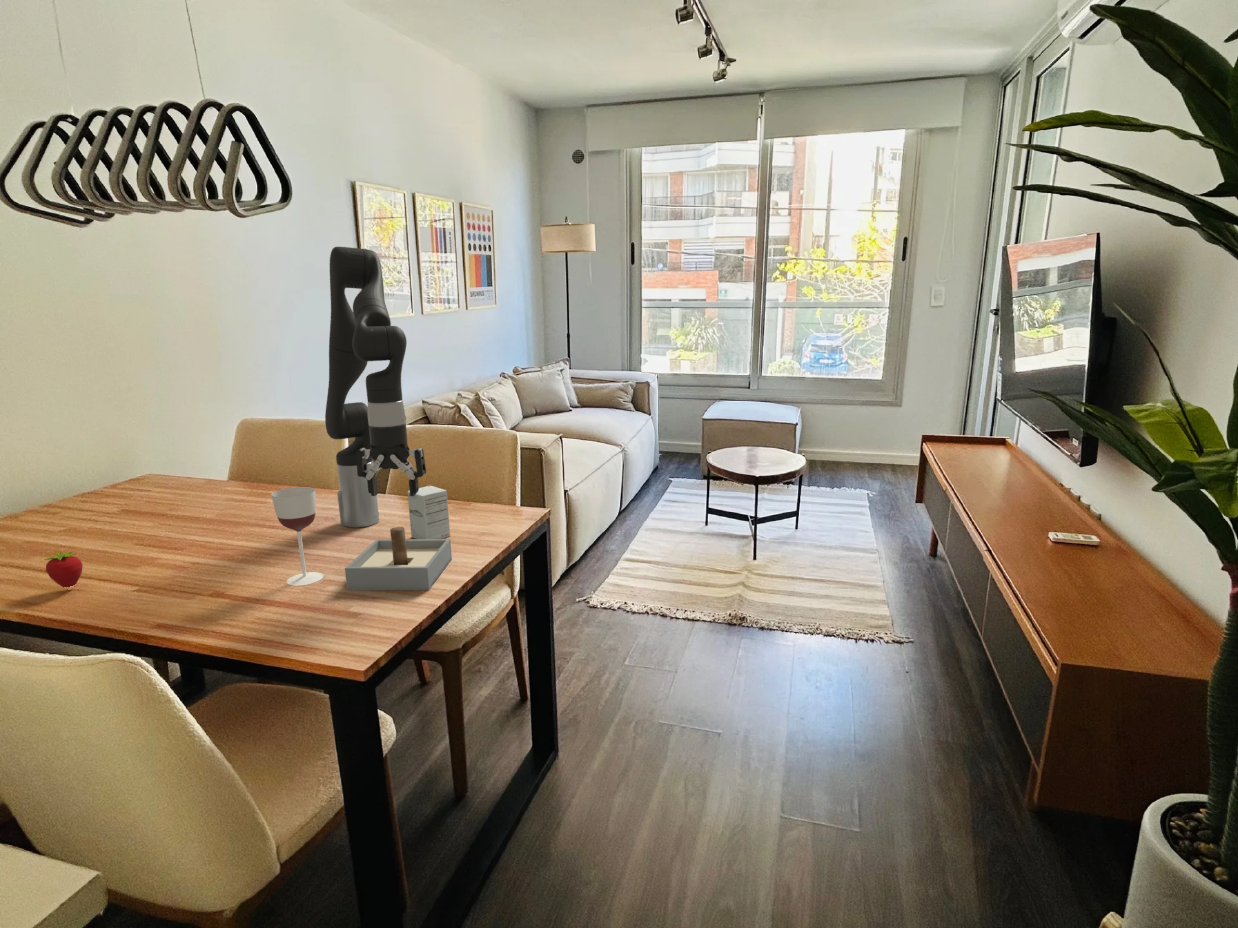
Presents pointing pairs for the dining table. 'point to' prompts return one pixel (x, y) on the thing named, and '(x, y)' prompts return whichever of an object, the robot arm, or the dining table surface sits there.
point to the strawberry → (64, 569)
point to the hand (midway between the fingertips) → (394, 495)
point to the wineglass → (297, 522)
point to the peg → (399, 546)
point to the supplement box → (429, 513)
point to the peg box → (399, 566)
